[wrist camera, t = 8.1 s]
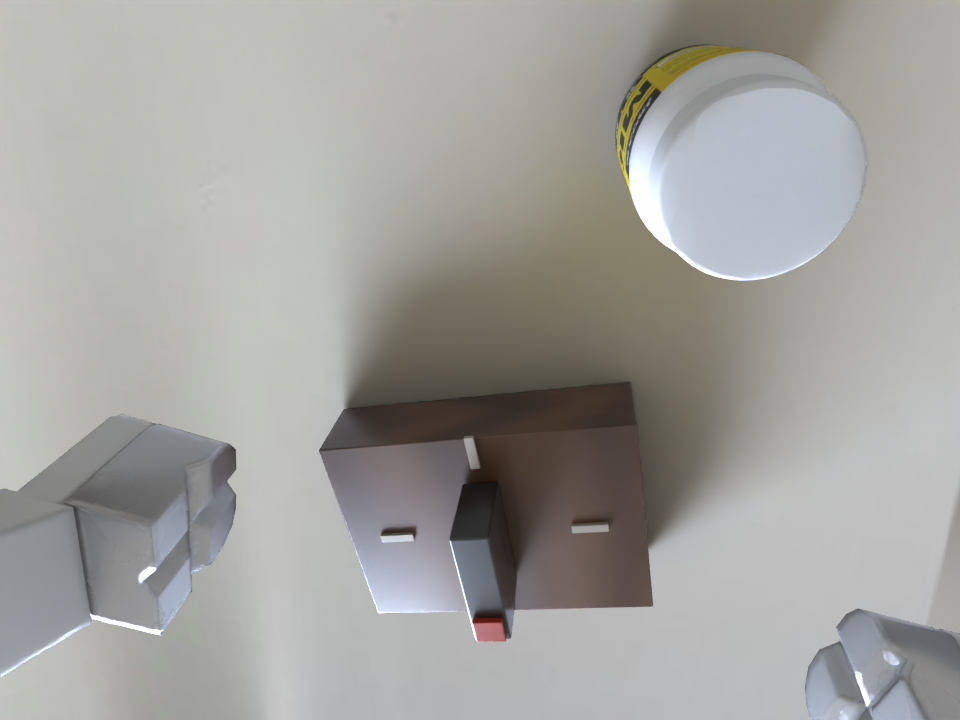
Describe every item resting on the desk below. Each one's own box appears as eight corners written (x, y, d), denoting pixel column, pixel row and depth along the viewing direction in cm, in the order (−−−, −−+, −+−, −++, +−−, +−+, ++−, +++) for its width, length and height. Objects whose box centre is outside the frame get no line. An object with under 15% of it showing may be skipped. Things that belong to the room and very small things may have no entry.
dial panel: (629, 379, 24) (637, 424, 21) (645, 554, 28) (653, 612, 25) (342, 406, 26) (316, 450, 24) (395, 565, 30) (377, 618, 28)
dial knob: (461, 483, 24) (446, 544, 21) (498, 480, 23) (487, 543, 20) (484, 578, 26) (473, 645, 23) (517, 577, 26) (511, 645, 23)
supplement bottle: (609, 57, 19) (634, 73, 12) (773, 32, 18) (912, 31, 11) (616, 212, 21) (641, 307, 14) (763, 195, 20) (874, 288, 13)
